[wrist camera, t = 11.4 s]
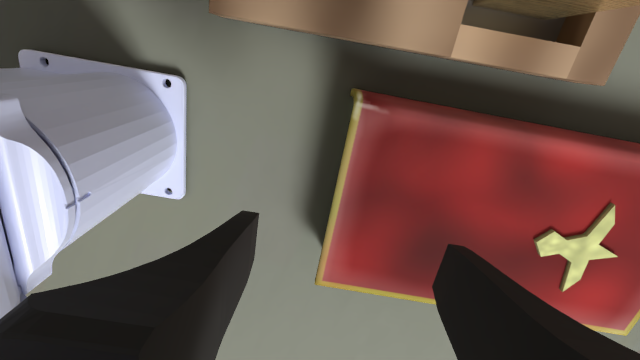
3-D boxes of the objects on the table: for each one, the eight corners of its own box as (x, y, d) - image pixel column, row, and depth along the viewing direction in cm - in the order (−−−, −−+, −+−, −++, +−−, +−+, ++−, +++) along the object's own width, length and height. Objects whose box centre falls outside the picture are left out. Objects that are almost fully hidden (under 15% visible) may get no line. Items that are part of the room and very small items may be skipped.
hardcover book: (351, 85, 19) (357, 93, 15) (674, 147, 20) (759, 170, 16) (317, 248, 23) (314, 287, 20) (581, 293, 24) (630, 339, 20)
